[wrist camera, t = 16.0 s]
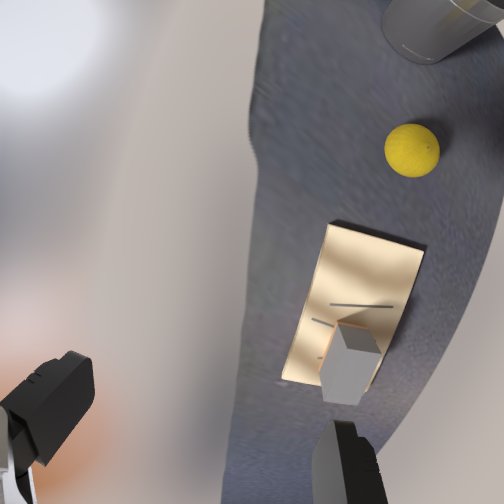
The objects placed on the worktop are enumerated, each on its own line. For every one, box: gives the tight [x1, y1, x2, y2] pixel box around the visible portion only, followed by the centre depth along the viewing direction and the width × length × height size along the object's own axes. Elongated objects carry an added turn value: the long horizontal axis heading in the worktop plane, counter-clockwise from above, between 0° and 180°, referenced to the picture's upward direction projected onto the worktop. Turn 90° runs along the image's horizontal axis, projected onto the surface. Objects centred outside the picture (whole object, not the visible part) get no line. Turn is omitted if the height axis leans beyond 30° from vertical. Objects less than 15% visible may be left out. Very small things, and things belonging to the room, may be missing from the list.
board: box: [282, 224, 424, 392], centre depth 35 cm, size 20×12×1 cm, turn 167°
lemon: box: [384, 124, 440, 177], centre depth 27 cm, size 6×6×8 cm
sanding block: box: [318, 321, 382, 405], centre depth 32 cm, size 7×4×6 cm, turn 167°
